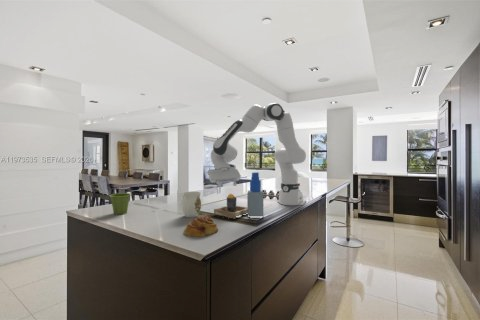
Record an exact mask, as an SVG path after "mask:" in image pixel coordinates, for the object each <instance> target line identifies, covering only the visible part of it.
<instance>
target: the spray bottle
mask: <svg viewBox="0 0 480 320" xmlns="http://www.w3.org/2000/svg"><path fill="white" fill-rule="evenodd" d="M259 175H260V173H259V172H257V171H254V172H253V171H252V172H251V178H250V180H249V190H247V195H246V197H247V198H246V199H247V202H246V203H247V206H246V207H247V208H248V215H249V216H263V217H264V191H263V190H262V189H261V187H262V186H261V185H262V181H261V179H260V176H259ZM248 215H247V216H248Z"/></svg>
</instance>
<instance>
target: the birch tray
mask: <svg viewBox="0 0 480 320" xmlns="http://www.w3.org/2000/svg"><path fill="white" fill-rule="evenodd" d="M246 213H248V207H247V206H246V207H245V206H240V205H236V212H228V211H227V205H225V206H221V207H217V208H214V209H213V215H214V214H220V215H224V216H230V217H236V216H239V215H243V214H246Z"/></svg>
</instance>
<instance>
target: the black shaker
mask: <svg viewBox="0 0 480 320" xmlns="http://www.w3.org/2000/svg"><path fill="white" fill-rule="evenodd" d="M234 197H235V198H228V196H226V206H227V211H228V212H236V206H237V196H234Z"/></svg>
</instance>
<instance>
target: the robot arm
mask: <svg viewBox="0 0 480 320" xmlns="http://www.w3.org/2000/svg"><path fill="white" fill-rule="evenodd" d="M261 121H266V122H272V121H274V123H275V125H276V130H277V136H278V140H279V142H280V143H281V144H282V146H283V147H281V148H279V149H277V150H276V151H274V155H273V156H274V160H275V161H276V162H277V163H278V166H279V168H280V174H281V176H280V177H281V183H280V190H279V191H278V195H279V197H278V200H277V203H278V204H281V205H284V206H303V205H304V204H305V203H306V202H307V199H304V194H303V192H302V191H301V189H300V186H301V183H298V182H299V181H298V171H297V170H296V168H294V165H298V164H302V163H304V162H305V160H306V158H307V154H306V151H305V149H303V148H302V147H301V146H300V145H299V142H298V141H297V138H296V134H295V129H294V128H295V127H294V123H293V119H292V116H291V113H290V112H287V111H285V110H284V108H283V107H282V105H281V104H280V103H277V102H271V103H267V104H266V105H264V106H261V105H259V104H253V105H251V107H250V108H249V109H248V110H247V111H246V112H245V114H244V115H243V116H242V118H240V119H237V120H236V121H234V122H233V123H232V124H231V125H230V126H229V127H228V128H227V130H226V131H225V132H224V133H223V134H222V135H221V136H220V137H219V138H217V139H216V140H215V141H214V143H213V147H212V150H211V152H210V159H211V162H212V165H213V168H214V169H208V170H207V171H206V173H207V175H208V180H209V182H210V183H212V184H213V183H216V184H217V186H219V188H223V183H224V182H225V183H226V182H232V185H233V186H234V187H236V186H237V182H238V181H240V179H241V177H242V176H241V174H240V172H239V169H238V168H236V164H231V162H233V160H235V159H236V158H237V156H238V150H237V149H236V147H234V146H233V145H232V144H231V143H230V141H231V140H232V139H233V138H234V137H235V136H236V135H237V133H239V132H240V133H241V132H242V133H252V132H254V131H255V130H256V129H257V127H258V125H260V123H261Z"/></svg>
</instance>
